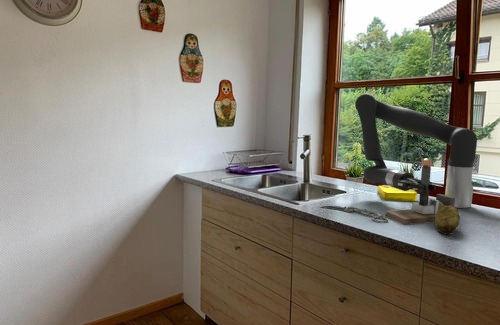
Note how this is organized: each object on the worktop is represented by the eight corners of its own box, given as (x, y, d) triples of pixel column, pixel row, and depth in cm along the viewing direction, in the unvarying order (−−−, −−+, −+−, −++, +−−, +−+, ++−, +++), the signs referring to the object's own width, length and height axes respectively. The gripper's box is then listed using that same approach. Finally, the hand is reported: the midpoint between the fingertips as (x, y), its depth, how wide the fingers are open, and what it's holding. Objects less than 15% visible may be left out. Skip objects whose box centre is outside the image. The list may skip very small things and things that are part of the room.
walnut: (438, 210, 140) (439, 200, 139) (446, 212, 136) (447, 202, 136) (429, 210, 139) (430, 200, 138) (437, 213, 135) (438, 203, 134)
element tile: (382, 200, 164) (383, 190, 164) (376, 193, 179) (377, 184, 179) (417, 202, 162) (418, 192, 162) (408, 195, 177) (408, 185, 176)
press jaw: (423, 209, 140) (428, 157, 137) (437, 213, 133) (442, 159, 130) (410, 209, 138) (414, 157, 136) (423, 214, 132) (428, 159, 129)
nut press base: (435, 212, 144) (436, 192, 143) (457, 220, 134) (459, 199, 132) (385, 216, 138) (386, 195, 137) (404, 224, 127) (406, 202, 126)
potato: (425, 232, 120) (427, 208, 119) (439, 224, 129) (440, 202, 128) (453, 238, 114) (455, 213, 113) (465, 229, 123) (467, 206, 122)
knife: (319, 205, 149) (334, 200, 155) (319, 209, 149) (334, 204, 155) (381, 223, 127) (396, 216, 133) (381, 227, 127) (396, 220, 134)
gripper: (385, 171, 146) (415, 178, 129) (414, 170, 149) (447, 177, 133) (384, 189, 147) (413, 199, 130) (413, 188, 150) (445, 197, 134)
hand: (430, 188), depth 132 cm, fingers closed on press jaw, 3 cm apart
